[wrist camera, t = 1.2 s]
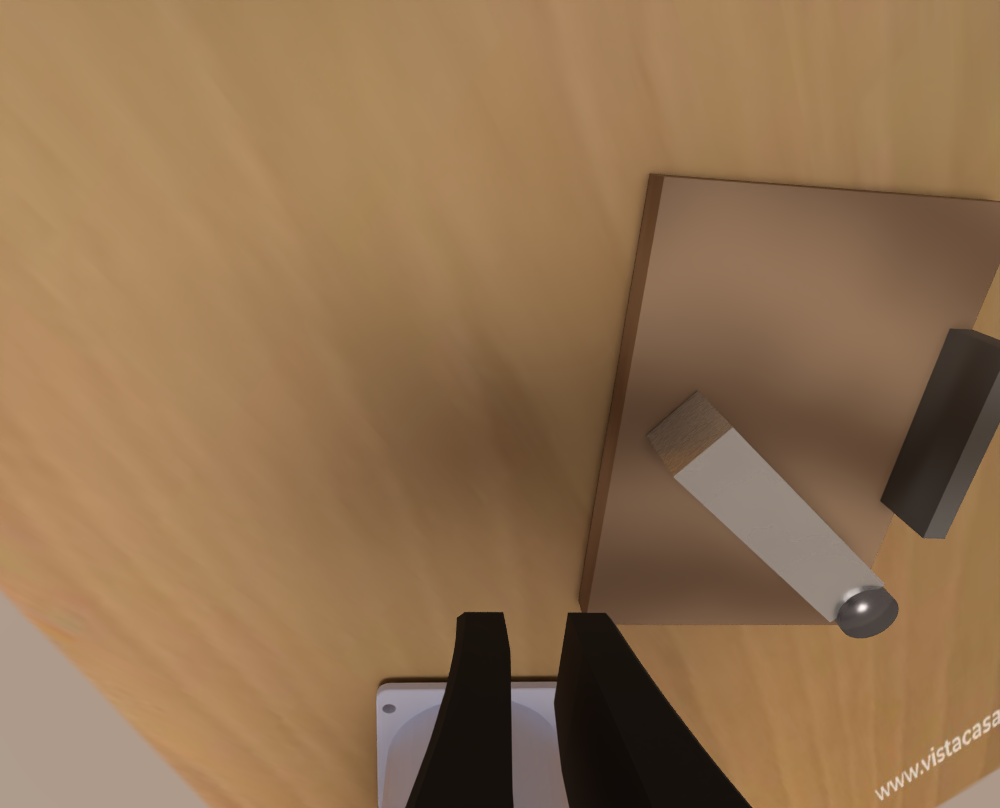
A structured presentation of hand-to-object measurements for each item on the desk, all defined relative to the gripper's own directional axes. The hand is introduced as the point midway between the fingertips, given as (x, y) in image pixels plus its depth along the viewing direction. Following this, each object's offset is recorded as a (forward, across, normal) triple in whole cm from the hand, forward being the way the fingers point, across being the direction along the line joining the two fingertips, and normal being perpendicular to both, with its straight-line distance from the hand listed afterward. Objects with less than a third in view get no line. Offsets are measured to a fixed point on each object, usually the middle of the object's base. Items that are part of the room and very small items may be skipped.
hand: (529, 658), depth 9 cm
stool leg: (+9, -9, +3) cm, 13 cm away
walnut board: (+10, -9, 0) cm, 13 cm away
